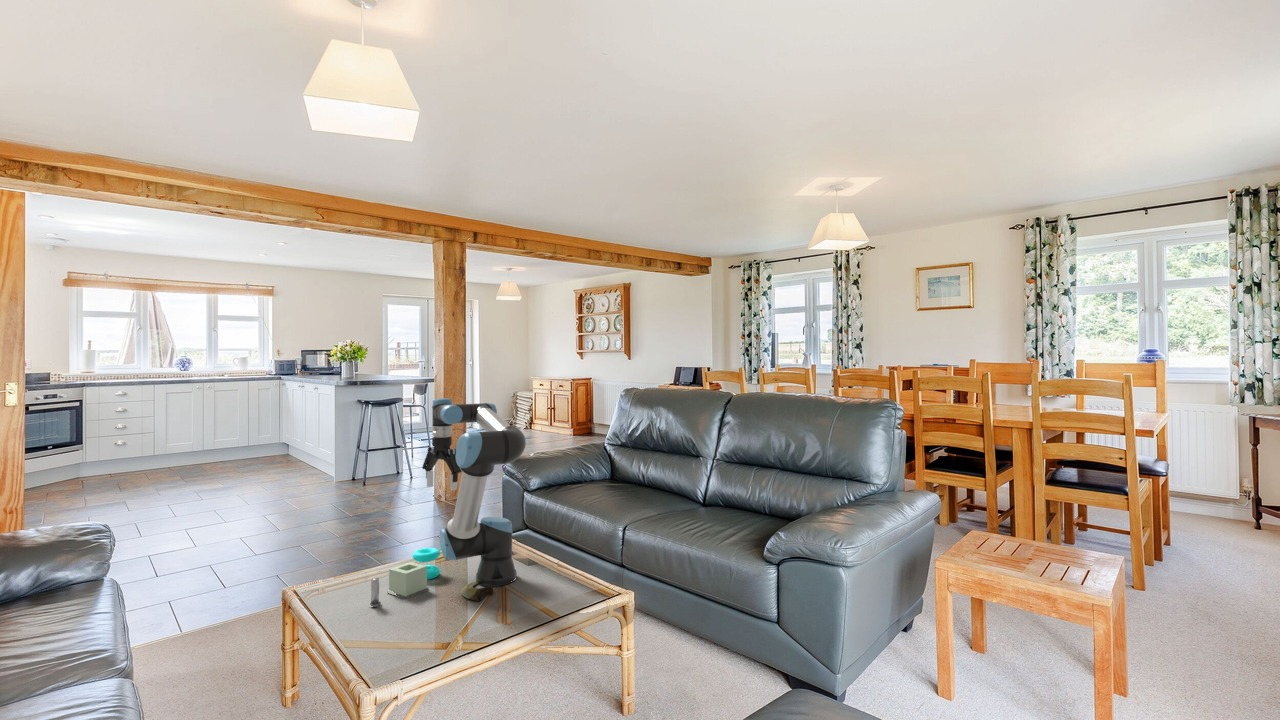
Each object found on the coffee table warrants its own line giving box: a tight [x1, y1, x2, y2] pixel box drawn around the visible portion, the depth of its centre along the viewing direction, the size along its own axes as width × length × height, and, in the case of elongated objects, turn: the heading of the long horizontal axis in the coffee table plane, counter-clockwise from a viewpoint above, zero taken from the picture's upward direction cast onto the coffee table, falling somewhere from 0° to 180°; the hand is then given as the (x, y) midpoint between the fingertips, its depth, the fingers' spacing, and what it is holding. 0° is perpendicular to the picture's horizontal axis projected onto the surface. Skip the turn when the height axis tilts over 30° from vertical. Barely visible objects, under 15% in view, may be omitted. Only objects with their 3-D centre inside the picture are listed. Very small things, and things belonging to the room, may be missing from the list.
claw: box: [460, 581, 494, 602], centre depth 210 cm, size 20×10×3 cm, turn 28°
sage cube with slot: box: [388, 561, 428, 596], centre depth 210 cm, size 9×9×8 cm
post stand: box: [369, 577, 382, 608], centre depth 198 cm, size 4×4×9 cm
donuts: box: [412, 547, 441, 580], centre depth 226 cm, size 10×10×10 cm
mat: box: [396, 587, 430, 600], centre depth 210 cm, size 10×10×1 cm
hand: (441, 488), depth 238 cm, fingers open, 13 cm apart
